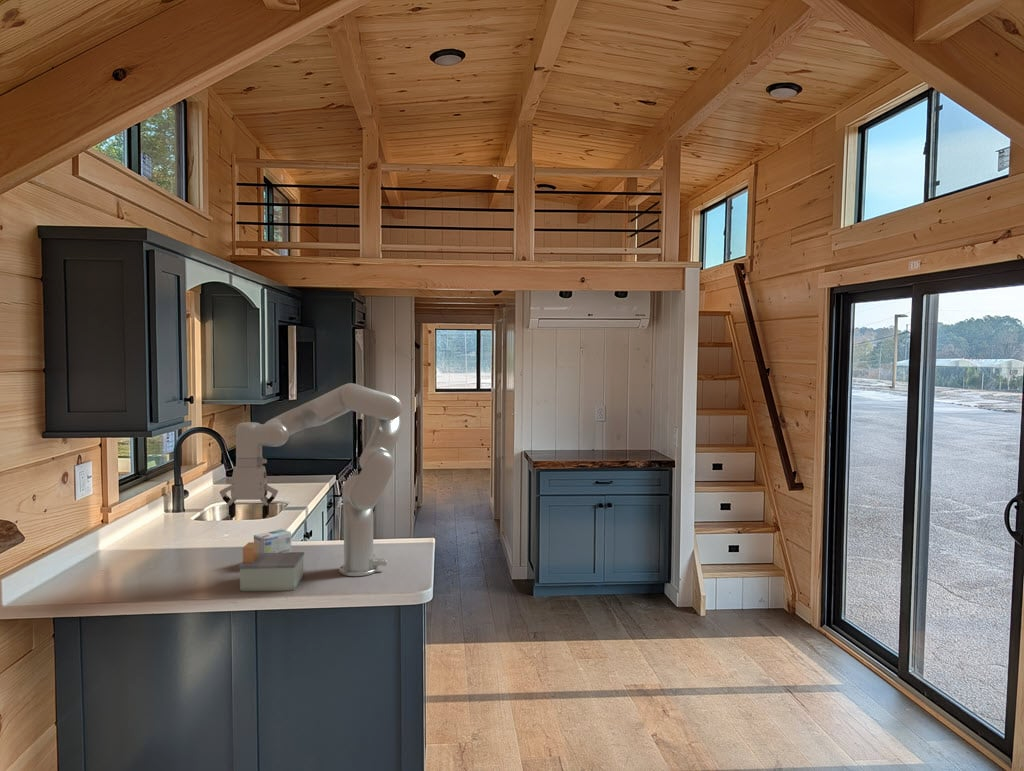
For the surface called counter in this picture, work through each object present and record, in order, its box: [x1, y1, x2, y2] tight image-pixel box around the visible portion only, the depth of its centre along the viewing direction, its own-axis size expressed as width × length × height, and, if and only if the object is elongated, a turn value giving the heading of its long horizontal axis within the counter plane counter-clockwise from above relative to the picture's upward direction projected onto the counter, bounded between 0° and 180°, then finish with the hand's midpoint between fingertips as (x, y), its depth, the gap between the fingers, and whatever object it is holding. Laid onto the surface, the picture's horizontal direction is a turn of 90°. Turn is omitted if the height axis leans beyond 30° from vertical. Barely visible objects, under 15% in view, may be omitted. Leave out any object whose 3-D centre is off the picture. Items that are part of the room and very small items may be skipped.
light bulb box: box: [253, 528, 292, 553], centre depth 236 cm, size 11×7×11 cm, turn 141°
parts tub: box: [239, 556, 304, 592], centre depth 217 cm, size 16×13×8 cm
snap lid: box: [238, 541, 305, 570], centre depth 216 cm, size 16×14×6 cm
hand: (248, 517), depth 215 cm, fingers open, 9 cm apart
